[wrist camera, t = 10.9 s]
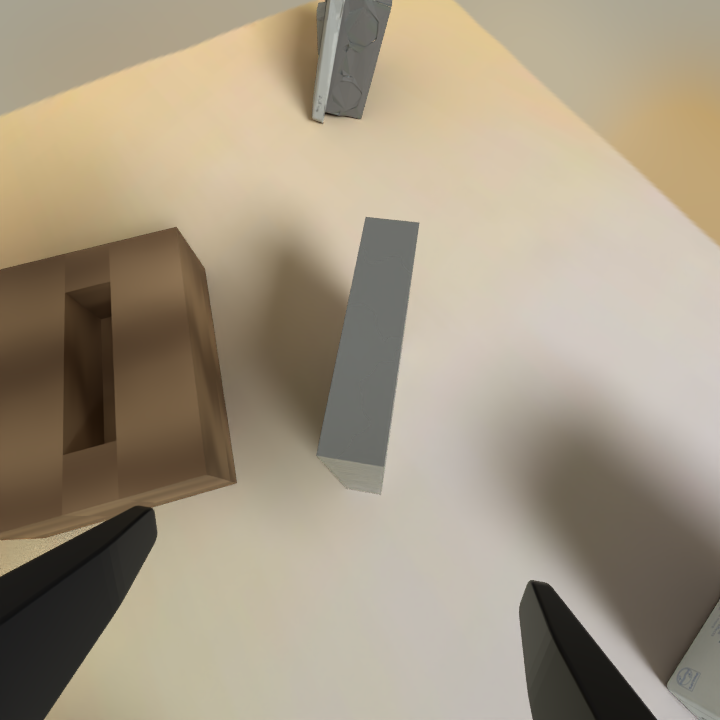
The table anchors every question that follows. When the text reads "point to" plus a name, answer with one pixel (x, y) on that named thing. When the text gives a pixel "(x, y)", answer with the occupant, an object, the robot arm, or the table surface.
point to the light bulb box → (701, 672)
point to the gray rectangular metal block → (369, 357)
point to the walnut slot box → (107, 385)
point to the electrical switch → (347, 54)
